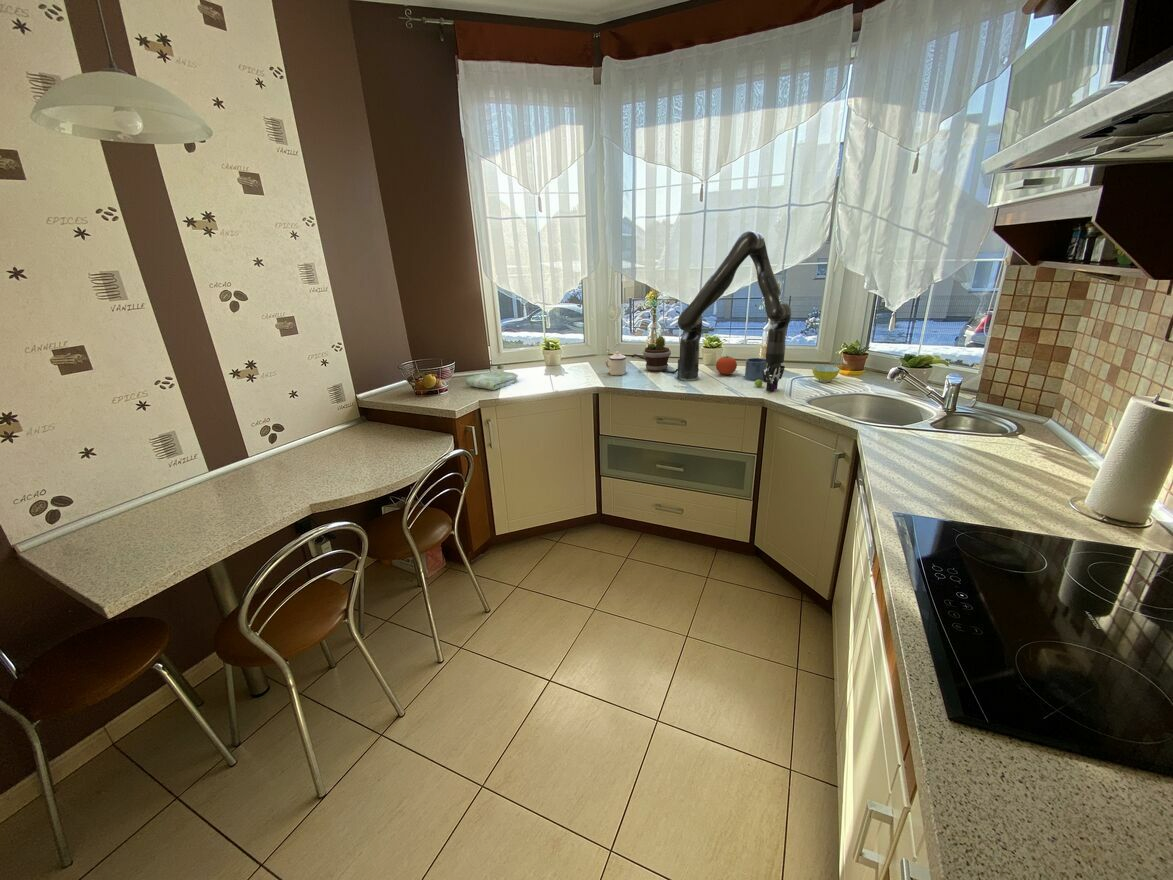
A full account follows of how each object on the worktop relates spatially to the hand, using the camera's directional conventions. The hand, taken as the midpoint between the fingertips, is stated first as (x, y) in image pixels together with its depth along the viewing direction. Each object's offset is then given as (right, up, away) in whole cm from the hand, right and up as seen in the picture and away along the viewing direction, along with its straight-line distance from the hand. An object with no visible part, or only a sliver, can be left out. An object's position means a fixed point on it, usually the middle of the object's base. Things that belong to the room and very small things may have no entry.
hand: (771, 390), depth 211 cm
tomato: (-11, +11, +31) cm, 35 cm away
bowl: (+29, +5, +11) cm, 31 cm away
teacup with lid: (-67, +13, +44) cm, 81 cm away
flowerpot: (-44, +16, +47) cm, 66 cm away
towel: (-130, +6, +34) cm, 135 cm away
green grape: (-3, +2, +7) cm, 8 cm away
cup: (0, +8, +21) cm, 23 cm away
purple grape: (0, 0, 0) cm, 0 cm away
